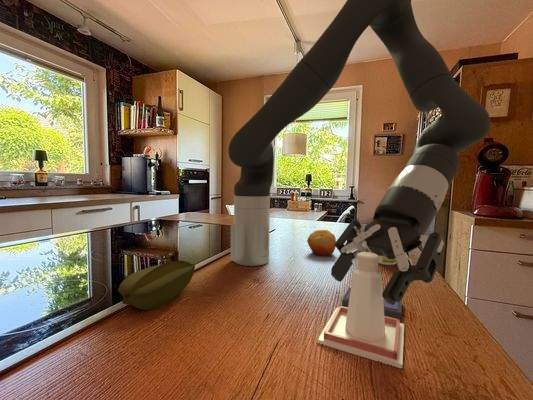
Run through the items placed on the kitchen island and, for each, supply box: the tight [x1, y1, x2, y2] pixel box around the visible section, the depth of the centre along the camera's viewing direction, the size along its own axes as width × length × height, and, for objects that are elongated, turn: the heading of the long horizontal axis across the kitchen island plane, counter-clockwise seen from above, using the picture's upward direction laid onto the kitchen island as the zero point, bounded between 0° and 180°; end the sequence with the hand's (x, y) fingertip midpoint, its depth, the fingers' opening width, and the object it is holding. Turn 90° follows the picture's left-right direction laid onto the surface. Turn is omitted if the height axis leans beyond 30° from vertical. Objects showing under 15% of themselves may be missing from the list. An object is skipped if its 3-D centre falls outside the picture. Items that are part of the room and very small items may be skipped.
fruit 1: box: [117, 259, 196, 311], centre depth 48 cm, size 11×12×7 cm
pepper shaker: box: [345, 252, 385, 342], centre depth 37 cm, size 5×5×11 cm
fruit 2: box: [306, 229, 337, 256], centre depth 78 cm, size 8×8×8 cm
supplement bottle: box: [378, 256, 397, 266], centre depth 71 cm, size 5×5×10 cm
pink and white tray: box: [317, 305, 405, 369], centre depth 38 cm, size 10×10×1 cm
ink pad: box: [341, 287, 403, 321], centre depth 47 cm, size 9×6×1 cm, turn 62°
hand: (358, 288), depth 37 cm, fingers open, 8 cm apart
